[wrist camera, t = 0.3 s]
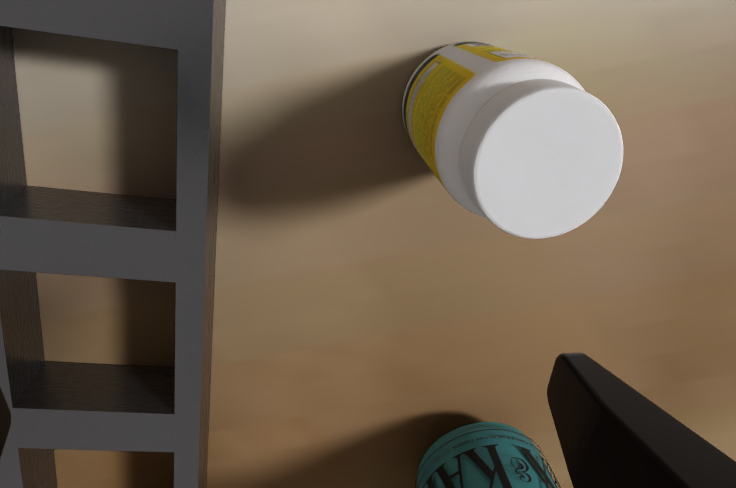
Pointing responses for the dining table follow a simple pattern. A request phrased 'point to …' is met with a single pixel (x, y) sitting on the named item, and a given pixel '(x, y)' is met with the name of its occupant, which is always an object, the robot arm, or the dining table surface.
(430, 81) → the supplement bottle
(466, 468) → the beverage bottle
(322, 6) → the dining table surface
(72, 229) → the grey slotted rack
